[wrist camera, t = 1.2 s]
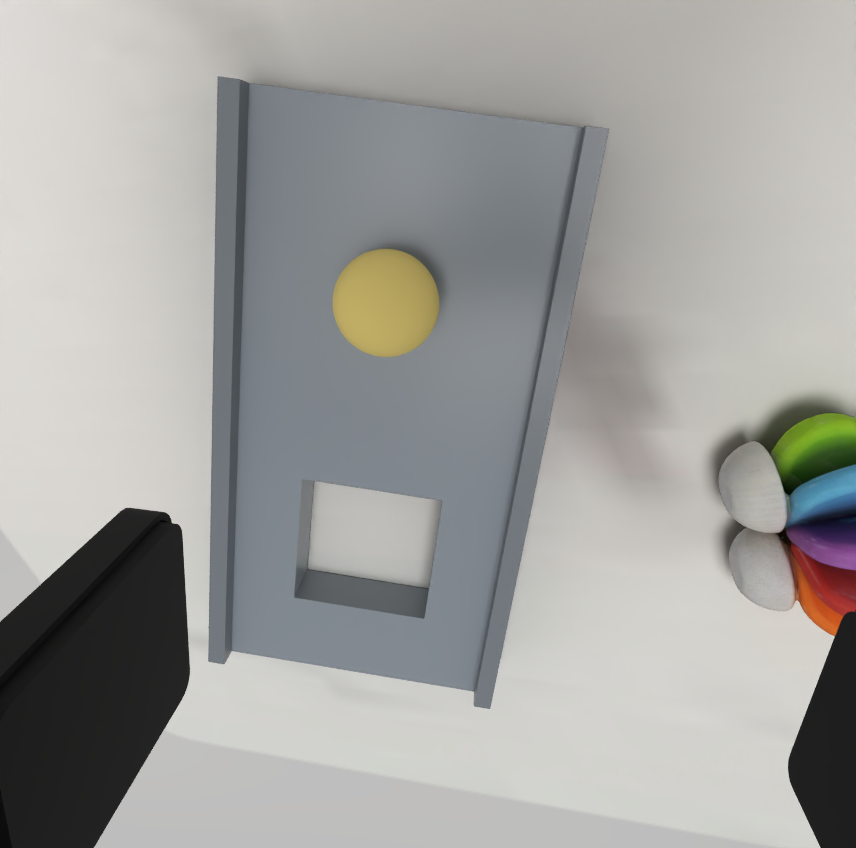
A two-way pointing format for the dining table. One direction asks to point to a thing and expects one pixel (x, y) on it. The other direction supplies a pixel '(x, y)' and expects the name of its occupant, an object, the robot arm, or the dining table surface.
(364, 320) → the ball
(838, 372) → the dining table surface
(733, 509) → the rainbow white-lobed toy
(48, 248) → the dining table surface
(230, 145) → the tray
